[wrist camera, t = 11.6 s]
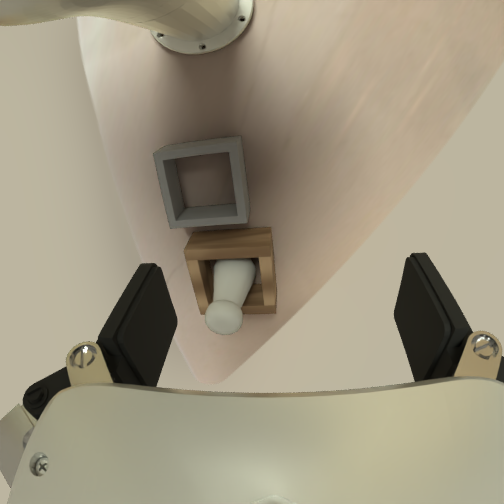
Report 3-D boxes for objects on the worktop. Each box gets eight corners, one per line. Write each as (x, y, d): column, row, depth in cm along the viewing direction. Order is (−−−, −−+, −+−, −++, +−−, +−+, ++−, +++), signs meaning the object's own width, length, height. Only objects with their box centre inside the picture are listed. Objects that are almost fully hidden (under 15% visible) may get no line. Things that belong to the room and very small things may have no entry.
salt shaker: (252, 241, 43) (241, 303, 32) (261, 275, 46) (253, 341, 34) (211, 247, 44) (189, 309, 33) (222, 280, 47) (206, 344, 36)
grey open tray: (164, 146, 37) (153, 153, 33) (241, 135, 35) (236, 141, 32) (179, 215, 42) (170, 228, 38) (250, 209, 40) (247, 223, 37)
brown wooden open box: (193, 231, 43) (183, 250, 38) (271, 227, 41) (269, 246, 37) (207, 293, 48) (200, 314, 44) (276, 291, 47) (275, 313, 43)
